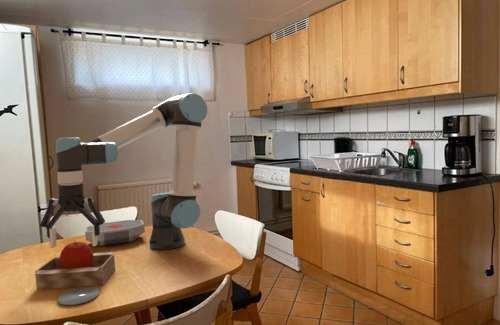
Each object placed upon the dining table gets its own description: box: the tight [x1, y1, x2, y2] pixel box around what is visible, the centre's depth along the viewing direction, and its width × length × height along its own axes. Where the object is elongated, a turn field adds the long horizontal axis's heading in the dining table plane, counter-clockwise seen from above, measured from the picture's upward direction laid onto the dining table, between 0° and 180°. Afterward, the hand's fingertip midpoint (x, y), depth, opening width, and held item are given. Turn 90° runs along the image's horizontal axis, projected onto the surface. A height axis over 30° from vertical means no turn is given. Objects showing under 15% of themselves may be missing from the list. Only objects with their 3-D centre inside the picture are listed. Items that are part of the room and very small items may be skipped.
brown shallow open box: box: [33, 251, 116, 290], centre depth 124 cm, size 21×18×6 cm
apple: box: [59, 241, 94, 269], centre depth 123 cm, size 10×10×14 cm
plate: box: [57, 286, 99, 306], centre depth 109 cm, size 11×11×1 cm
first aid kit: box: [84, 219, 146, 247], centre depth 167 cm, size 18×8×25 cm
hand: (74, 246), depth 123 cm, fingers open, 13 cm apart
